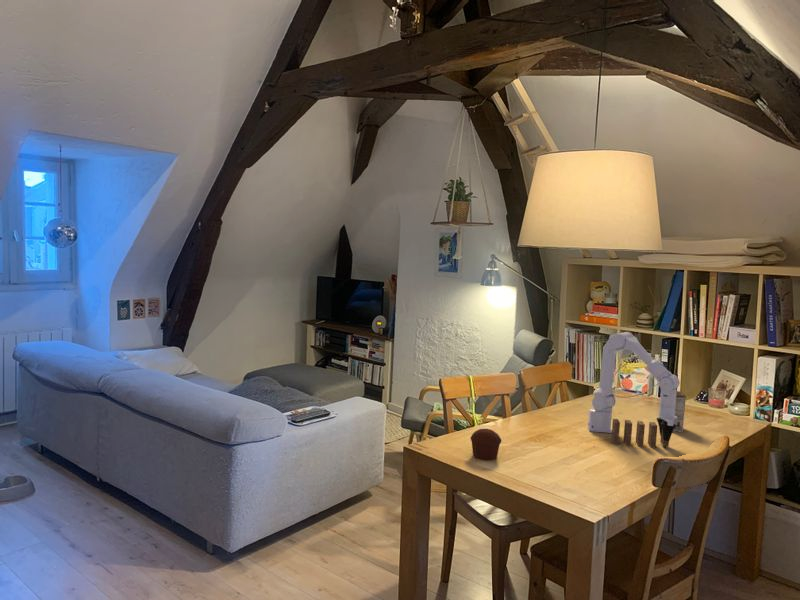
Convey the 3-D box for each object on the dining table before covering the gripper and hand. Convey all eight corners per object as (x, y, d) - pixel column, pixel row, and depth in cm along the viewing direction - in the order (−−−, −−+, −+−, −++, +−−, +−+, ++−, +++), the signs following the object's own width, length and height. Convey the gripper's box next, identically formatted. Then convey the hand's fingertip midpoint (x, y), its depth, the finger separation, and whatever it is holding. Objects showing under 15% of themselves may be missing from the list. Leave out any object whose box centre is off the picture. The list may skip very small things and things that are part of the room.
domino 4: (650, 447, 254) (652, 425, 253) (647, 443, 258) (649, 421, 258) (655, 447, 253) (657, 425, 252) (652, 443, 258) (654, 422, 257)
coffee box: (663, 425, 286) (666, 390, 284) (678, 426, 285) (681, 391, 283) (667, 431, 277) (670, 394, 275) (683, 432, 276) (686, 396, 274)
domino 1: (613, 444, 256) (614, 422, 255) (611, 440, 261) (612, 418, 260) (618, 444, 256) (619, 422, 255) (616, 440, 261) (617, 419, 260)
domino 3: (637, 446, 254) (639, 424, 254) (635, 442, 259) (637, 420, 258) (643, 446, 254) (644, 424, 253) (640, 442, 259) (642, 421, 258)
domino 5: (663, 446, 253) (665, 423, 252) (660, 442, 258) (662, 420, 257) (668, 446, 252) (670, 424, 251) (665, 442, 257) (667, 420, 256)
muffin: (507, 458, 235) (508, 431, 234) (486, 464, 228) (487, 437, 227) (483, 449, 244) (485, 423, 243) (463, 454, 237) (464, 428, 236)
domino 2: (625, 445, 255) (627, 423, 254) (623, 441, 260) (624, 419, 259) (630, 445, 255) (632, 423, 254) (628, 441, 260) (630, 420, 259)
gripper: (682, 410, 246) (680, 444, 247) (673, 401, 260) (670, 433, 261) (663, 409, 247) (660, 443, 248) (655, 400, 261) (652, 432, 262)
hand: (664, 438), depth 255 cm, fingers closed on domino 5, 5 cm apart
